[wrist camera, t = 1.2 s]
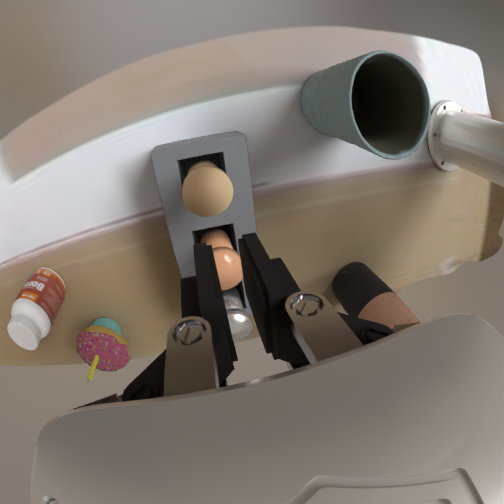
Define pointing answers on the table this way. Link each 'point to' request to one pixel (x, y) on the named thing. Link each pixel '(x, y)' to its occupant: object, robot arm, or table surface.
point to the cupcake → (103, 346)
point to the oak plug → (206, 189)
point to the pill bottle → (36, 308)
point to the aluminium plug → (236, 315)
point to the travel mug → (370, 297)
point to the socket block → (186, 222)
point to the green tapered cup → (370, 103)
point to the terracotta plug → (224, 258)
